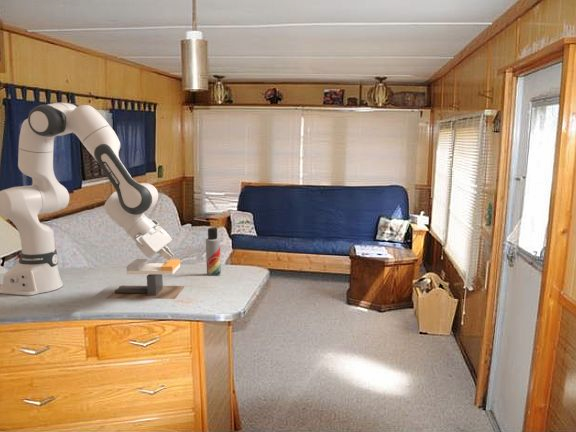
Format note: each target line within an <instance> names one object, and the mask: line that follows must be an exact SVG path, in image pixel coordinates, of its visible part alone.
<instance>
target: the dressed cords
mask: <svg viewBox="0 0 576 432" xmlns="http://www.w3.org/2000/svg"><path fill="white" fill-rule="evenodd" d="M118 288H119V289H118ZM118 288H117V289H114V291H115V293H121V294H148V291H147V285H126V286H122V285H119V286H118Z"/></svg>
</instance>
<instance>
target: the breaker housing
mask: <svg viewBox="0 0 576 432" xmlns="http://www.w3.org/2000/svg"><path fill="white" fill-rule="evenodd" d="M146 275H147V276H146V286H147V291H148V296H156V295H157V294H158V293H159V292H160V291H161V290H162V289H163V286H164V284H163V283H164V282H163V274H146Z"/></svg>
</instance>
